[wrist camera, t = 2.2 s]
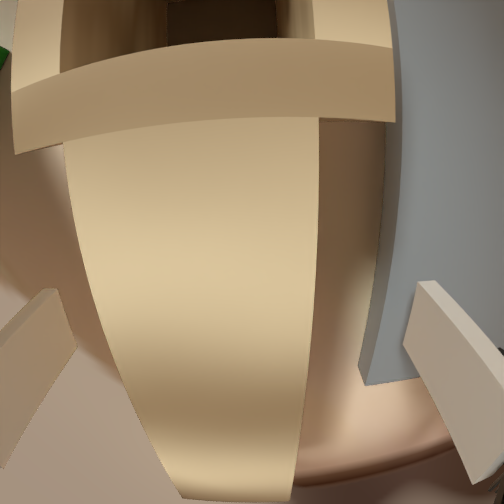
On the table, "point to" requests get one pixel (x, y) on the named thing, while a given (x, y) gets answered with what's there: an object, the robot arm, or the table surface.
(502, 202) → the deck
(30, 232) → the table surface
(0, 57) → the milk carton
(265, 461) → the link
